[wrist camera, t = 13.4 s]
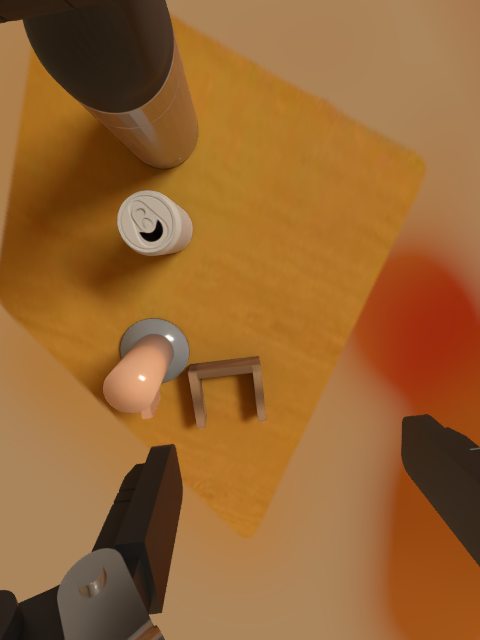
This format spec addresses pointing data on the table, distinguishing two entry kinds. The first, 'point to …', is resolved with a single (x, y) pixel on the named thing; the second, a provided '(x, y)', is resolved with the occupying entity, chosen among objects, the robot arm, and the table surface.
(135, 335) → the grey dome disc
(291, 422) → the table surface
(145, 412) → the peach cylinder with handle
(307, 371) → the table surface
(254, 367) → the wooden u-shaped frame
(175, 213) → the beverage can
